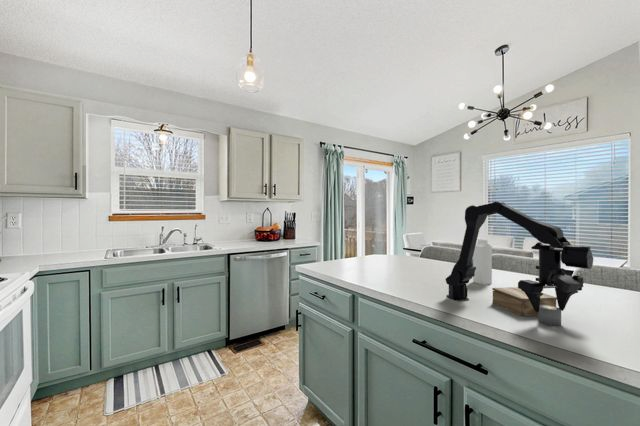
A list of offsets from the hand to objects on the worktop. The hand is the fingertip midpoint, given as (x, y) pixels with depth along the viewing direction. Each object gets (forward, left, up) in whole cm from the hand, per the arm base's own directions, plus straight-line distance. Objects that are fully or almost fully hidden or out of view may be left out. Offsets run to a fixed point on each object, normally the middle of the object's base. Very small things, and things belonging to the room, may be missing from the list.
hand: (549, 311), depth 97 cm
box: (+3, +14, -4) cm, 15 cm away
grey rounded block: (0, 0, -4) cm, 4 cm away
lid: (+3, +14, +1) cm, 14 cm away
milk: (+14, +51, -4) cm, 53 cm away
